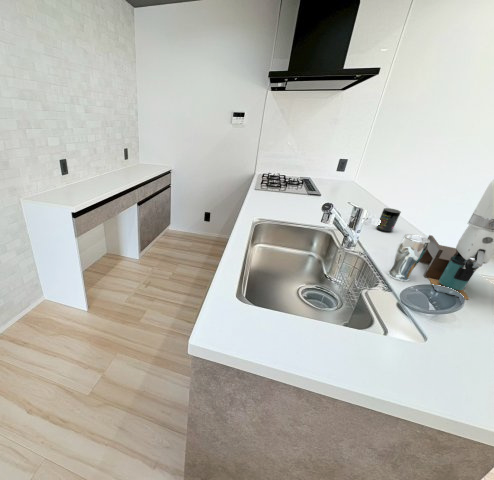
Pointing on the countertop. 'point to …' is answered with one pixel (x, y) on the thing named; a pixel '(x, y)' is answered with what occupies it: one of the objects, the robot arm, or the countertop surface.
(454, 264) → the spice tin
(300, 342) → the countertop surface
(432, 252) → the shelf
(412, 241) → the beer glass
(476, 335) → the countertop surface
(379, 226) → the supplement container
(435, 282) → the cork mat
